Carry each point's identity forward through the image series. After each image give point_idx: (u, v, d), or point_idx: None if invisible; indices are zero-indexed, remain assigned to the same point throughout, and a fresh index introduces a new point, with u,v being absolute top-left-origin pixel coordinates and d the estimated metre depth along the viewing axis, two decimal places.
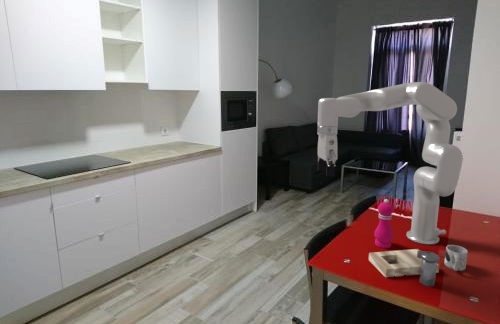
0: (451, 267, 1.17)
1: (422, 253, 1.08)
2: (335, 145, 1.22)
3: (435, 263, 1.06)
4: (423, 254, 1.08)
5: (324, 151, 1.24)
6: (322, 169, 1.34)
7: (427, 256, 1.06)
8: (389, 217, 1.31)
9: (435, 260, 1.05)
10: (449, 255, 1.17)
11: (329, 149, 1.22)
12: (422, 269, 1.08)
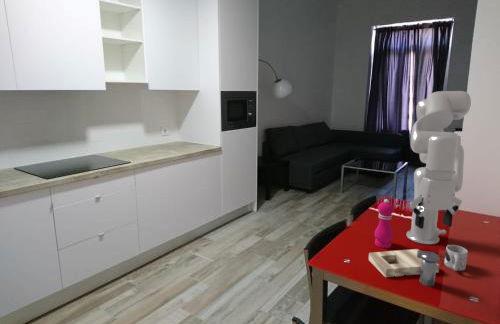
0: (451, 267, 1.17)
1: (422, 253, 1.08)
2: None
3: (435, 263, 1.06)
4: (423, 254, 1.08)
5: (451, 199, 1.01)
6: None
7: (427, 256, 1.06)
8: (389, 217, 1.31)
9: (435, 260, 1.05)
10: (449, 255, 1.17)
11: None
12: (422, 269, 1.08)
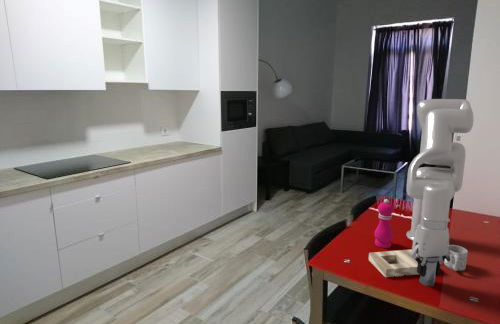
0: (451, 267, 1.17)
1: None
2: None
3: (435, 263, 1.06)
4: None
5: (446, 246, 1.05)
6: None
7: None
8: (389, 217, 1.31)
9: (435, 260, 1.05)
10: (449, 255, 1.17)
11: None
12: None
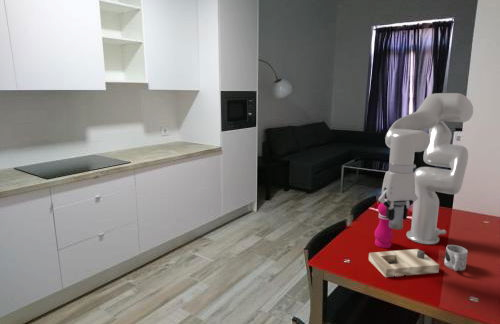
0: (451, 267, 1.17)
1: None
2: None
3: (402, 207, 1.12)
4: None
5: (412, 190, 1.11)
6: None
7: (395, 201, 1.13)
8: None
9: (402, 203, 1.11)
10: (449, 255, 1.17)
11: None
12: None
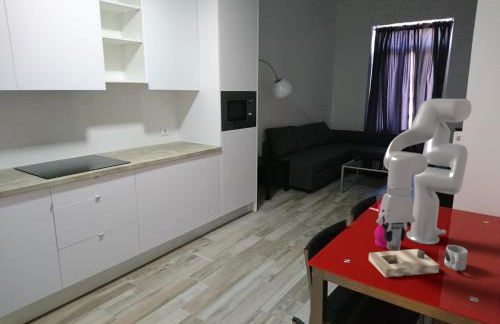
0: (451, 267, 1.17)
1: None
2: None
3: (400, 229, 1.14)
4: None
5: (410, 213, 1.13)
6: None
7: None
8: None
9: (400, 226, 1.13)
10: (449, 255, 1.17)
11: None
12: None
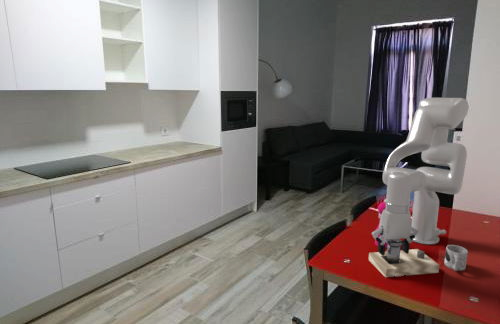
0: (451, 267, 1.17)
1: None
2: None
3: (399, 248, 1.15)
4: (388, 240, 1.17)
5: (408, 229, 1.14)
6: None
7: (391, 241, 1.16)
8: None
9: (398, 245, 1.14)
10: (449, 255, 1.17)
11: None
12: (387, 253, 1.18)
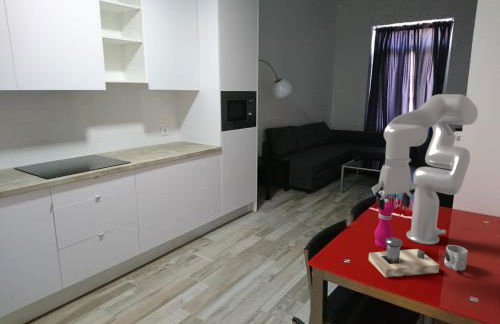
0: (451, 267, 1.17)
1: (387, 239, 1.18)
2: None
3: (398, 247, 1.16)
4: (388, 240, 1.18)
5: (408, 183, 1.15)
6: None
7: (391, 241, 1.16)
8: (389, 217, 1.31)
9: (398, 244, 1.15)
10: (449, 255, 1.17)
11: None
12: (387, 253, 1.18)
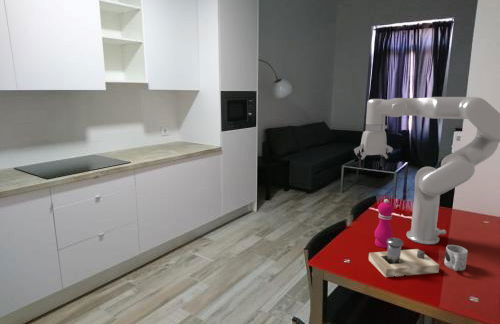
0: (451, 267, 1.17)
1: (388, 239, 1.18)
2: None
3: (399, 248, 1.15)
4: (389, 240, 1.17)
5: (384, 146, 1.39)
6: None
7: (392, 241, 1.16)
8: (389, 217, 1.31)
9: (399, 245, 1.14)
10: (449, 255, 1.17)
11: None
12: (388, 253, 1.18)
